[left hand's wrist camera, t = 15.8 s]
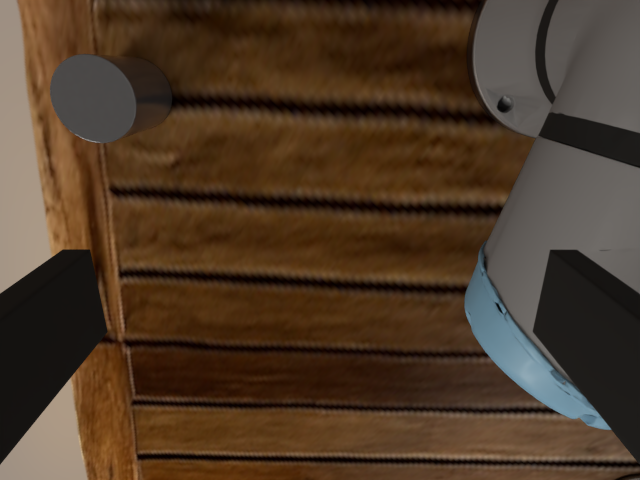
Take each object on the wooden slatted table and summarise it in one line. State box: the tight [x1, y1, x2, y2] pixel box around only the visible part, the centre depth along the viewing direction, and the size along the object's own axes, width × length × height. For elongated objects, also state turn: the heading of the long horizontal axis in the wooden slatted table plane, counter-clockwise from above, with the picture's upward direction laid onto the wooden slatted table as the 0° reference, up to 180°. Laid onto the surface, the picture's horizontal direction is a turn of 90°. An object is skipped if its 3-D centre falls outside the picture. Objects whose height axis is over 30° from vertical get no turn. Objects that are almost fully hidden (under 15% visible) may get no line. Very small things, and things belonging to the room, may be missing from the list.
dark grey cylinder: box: [50, 54, 172, 143], centre depth 34 cm, size 6×6×8 cm
